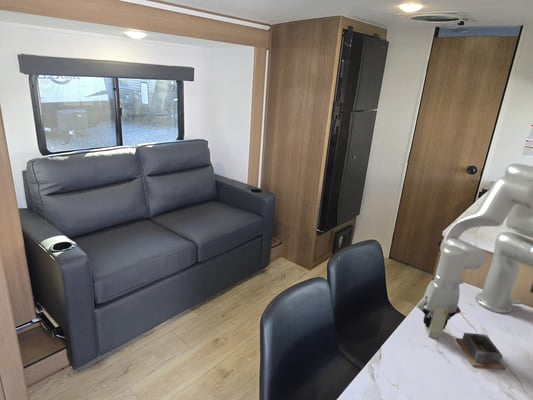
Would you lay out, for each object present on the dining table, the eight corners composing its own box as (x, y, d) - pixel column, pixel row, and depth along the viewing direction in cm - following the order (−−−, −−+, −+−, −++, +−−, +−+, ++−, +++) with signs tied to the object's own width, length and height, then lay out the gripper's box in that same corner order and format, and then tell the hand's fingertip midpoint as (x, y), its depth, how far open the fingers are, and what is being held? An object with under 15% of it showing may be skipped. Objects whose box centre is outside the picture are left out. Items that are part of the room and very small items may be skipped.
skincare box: (441, 339, 122) (449, 309, 118) (427, 336, 123) (436, 307, 119) (436, 327, 128) (444, 298, 124) (423, 324, 129) (431, 296, 125)
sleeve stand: (484, 342, 122) (488, 332, 121) (504, 369, 111) (508, 359, 109) (455, 339, 122) (458, 329, 121) (472, 366, 111) (476, 355, 110)
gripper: (466, 277, 122) (453, 321, 128) (417, 273, 122) (406, 316, 128) (477, 290, 115) (463, 335, 121) (425, 285, 115) (413, 330, 121)
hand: (434, 325), depth 124 cm, fingers closed on skincare box, 4 cm apart
